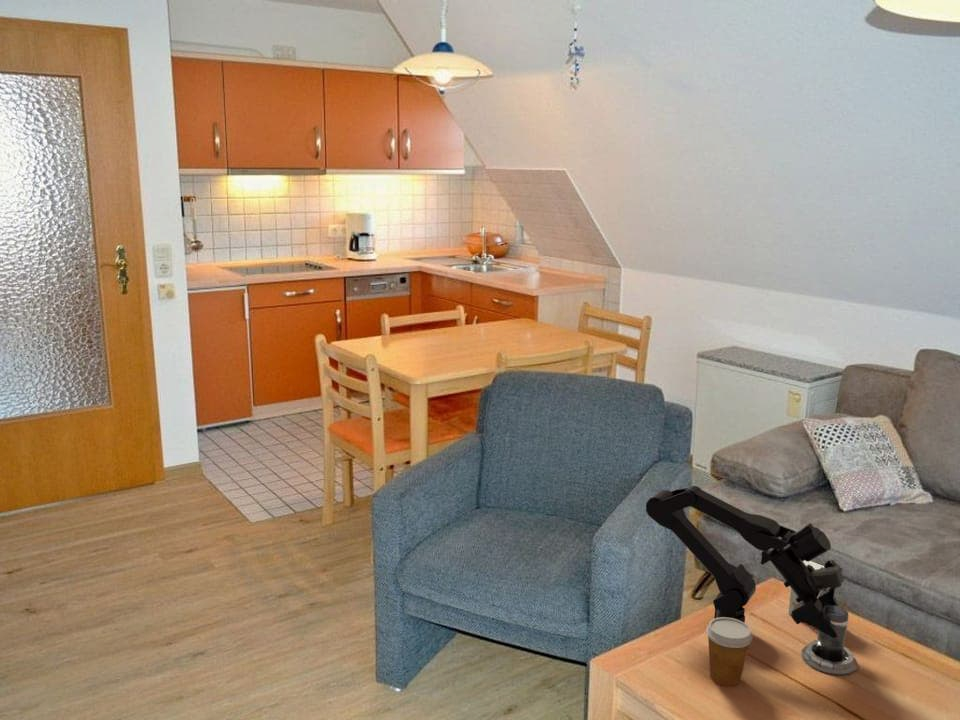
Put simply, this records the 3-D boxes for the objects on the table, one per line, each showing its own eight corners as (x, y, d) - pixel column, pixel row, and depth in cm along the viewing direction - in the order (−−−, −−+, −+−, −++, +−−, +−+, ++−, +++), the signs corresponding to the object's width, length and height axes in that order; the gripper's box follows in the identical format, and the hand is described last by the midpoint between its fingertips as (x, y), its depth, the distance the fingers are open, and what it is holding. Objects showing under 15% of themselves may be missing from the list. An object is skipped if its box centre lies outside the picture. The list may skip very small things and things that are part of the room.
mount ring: (790, 654, 191) (791, 646, 190) (823, 640, 197) (824, 633, 196) (834, 681, 181) (835, 672, 181) (868, 665, 187) (869, 657, 187)
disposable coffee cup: (748, 670, 184) (753, 620, 182) (747, 695, 176) (752, 643, 173) (704, 661, 187) (708, 612, 185) (700, 685, 179) (704, 634, 176)
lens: (809, 654, 190) (814, 607, 187) (825, 647, 193) (831, 601, 190) (831, 668, 185) (837, 620, 182) (848, 660, 188) (855, 613, 185)
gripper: (812, 569, 178) (862, 633, 175) (832, 539, 193) (878, 597, 190) (771, 592, 184) (818, 654, 181) (793, 561, 199) (837, 617, 196)
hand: (839, 629), depth 186 cm, fingers open, 7 cm apart
